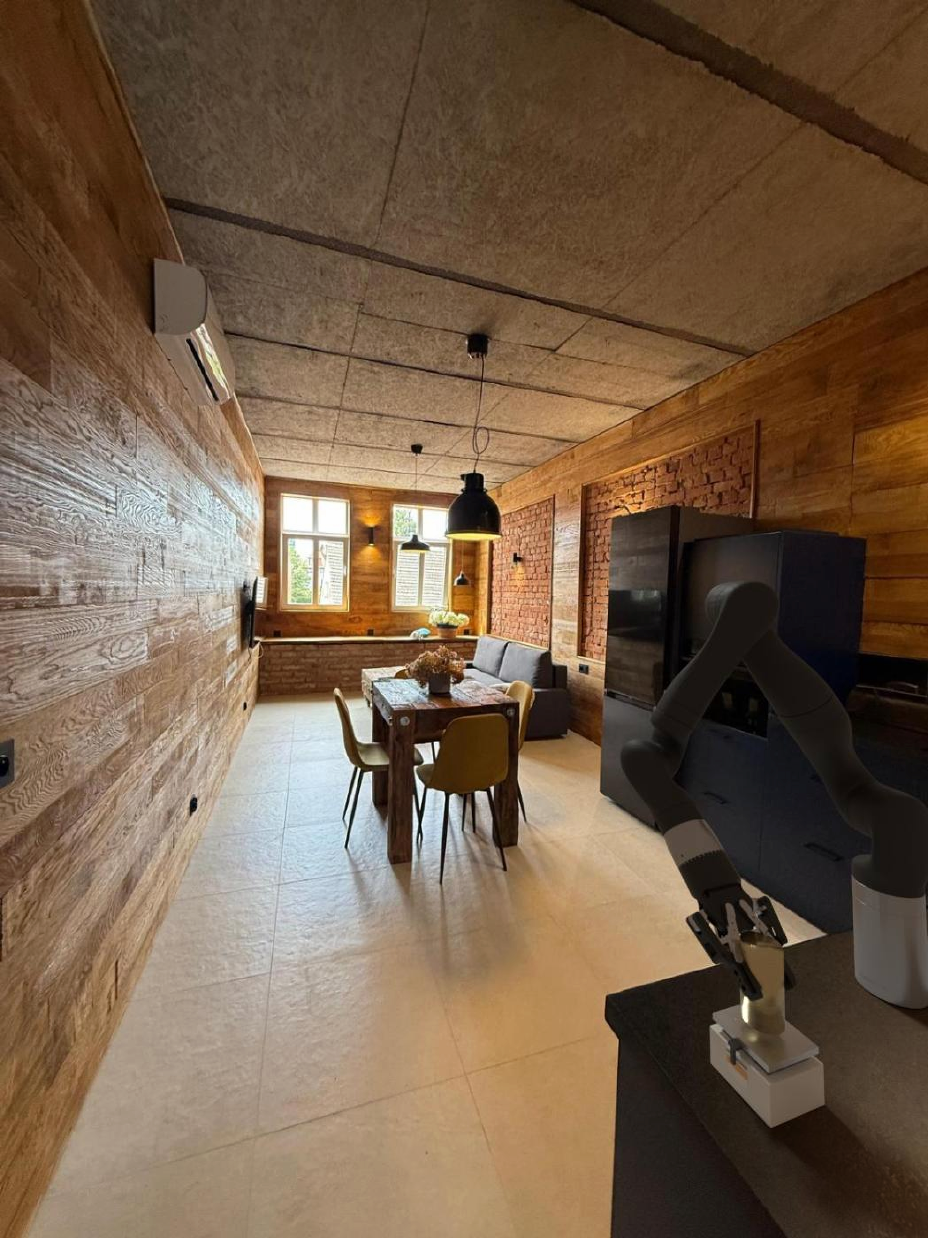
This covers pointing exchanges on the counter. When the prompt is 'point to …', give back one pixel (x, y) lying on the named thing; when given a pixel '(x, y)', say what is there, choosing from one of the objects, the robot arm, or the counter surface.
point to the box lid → (764, 1042)
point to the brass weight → (764, 983)
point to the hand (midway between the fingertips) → (774, 993)
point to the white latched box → (769, 1081)
